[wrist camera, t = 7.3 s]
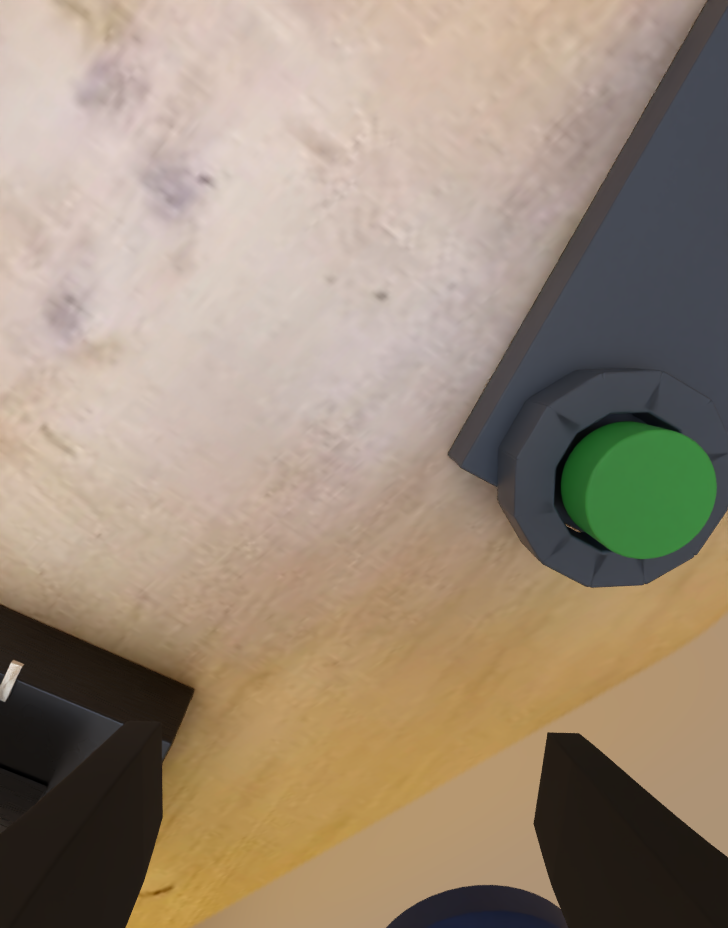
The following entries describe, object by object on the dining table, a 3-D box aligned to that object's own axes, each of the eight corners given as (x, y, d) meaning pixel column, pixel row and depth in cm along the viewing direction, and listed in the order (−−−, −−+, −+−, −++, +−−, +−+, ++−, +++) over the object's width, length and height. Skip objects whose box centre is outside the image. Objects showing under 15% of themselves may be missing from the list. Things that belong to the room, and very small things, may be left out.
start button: (634, 558, 17) (668, 581, 15) (536, 505, 16) (560, 524, 15) (702, 456, 16) (744, 468, 15) (602, 398, 16) (634, 405, 14)
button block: (610, 578, 21) (672, 631, 17) (429, 484, 20) (451, 517, 16) (913, 116, 18) (1071, 52, 14) (720, -24, 17) (835, -136, 13)
